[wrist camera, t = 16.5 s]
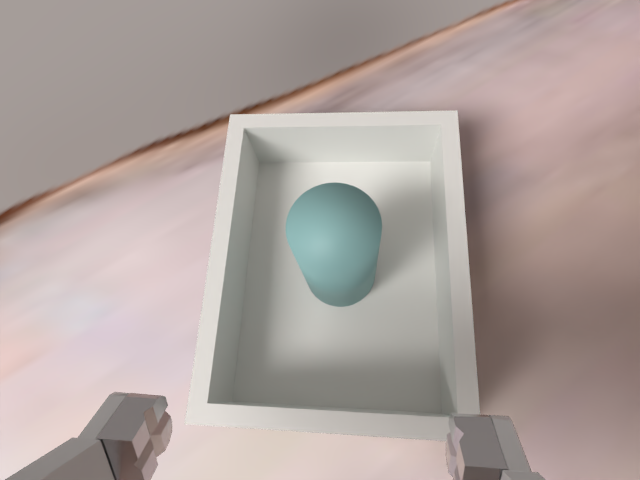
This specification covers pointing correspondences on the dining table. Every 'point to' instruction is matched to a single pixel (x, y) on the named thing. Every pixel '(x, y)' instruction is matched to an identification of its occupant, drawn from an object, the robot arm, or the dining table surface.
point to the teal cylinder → (335, 241)
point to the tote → (330, 321)
